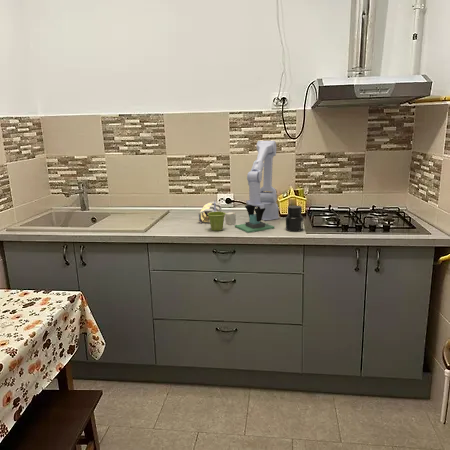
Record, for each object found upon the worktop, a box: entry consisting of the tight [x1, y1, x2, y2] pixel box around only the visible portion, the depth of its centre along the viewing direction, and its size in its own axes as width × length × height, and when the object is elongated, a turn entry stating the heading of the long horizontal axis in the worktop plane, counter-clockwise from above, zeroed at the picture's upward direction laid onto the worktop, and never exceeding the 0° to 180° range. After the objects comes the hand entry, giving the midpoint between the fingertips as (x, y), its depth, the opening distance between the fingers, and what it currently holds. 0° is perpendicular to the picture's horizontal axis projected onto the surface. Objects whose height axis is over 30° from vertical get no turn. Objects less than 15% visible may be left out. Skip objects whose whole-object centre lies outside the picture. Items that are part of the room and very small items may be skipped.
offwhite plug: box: [224, 211, 237, 226], centre depth 235 cm, size 4×4×6 cm
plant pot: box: [207, 211, 227, 232], centre depth 224 cm, size 9×9×9 cm
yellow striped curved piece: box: [198, 201, 223, 225], centre depth 248 cm, size 25×10×13 cm, turn 175°
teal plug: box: [248, 213, 260, 224], centre depth 224 cm, size 4×4×6 cm
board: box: [234, 220, 275, 234], centre depth 226 cm, size 16×14×3 cm
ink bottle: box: [285, 205, 304, 232], centre depth 218 cm, size 10×9×12 cm
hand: (255, 219), depth 224 cm, fingers open, 7 cm apart
